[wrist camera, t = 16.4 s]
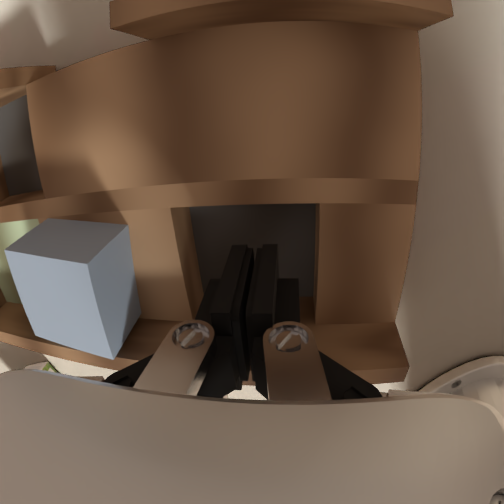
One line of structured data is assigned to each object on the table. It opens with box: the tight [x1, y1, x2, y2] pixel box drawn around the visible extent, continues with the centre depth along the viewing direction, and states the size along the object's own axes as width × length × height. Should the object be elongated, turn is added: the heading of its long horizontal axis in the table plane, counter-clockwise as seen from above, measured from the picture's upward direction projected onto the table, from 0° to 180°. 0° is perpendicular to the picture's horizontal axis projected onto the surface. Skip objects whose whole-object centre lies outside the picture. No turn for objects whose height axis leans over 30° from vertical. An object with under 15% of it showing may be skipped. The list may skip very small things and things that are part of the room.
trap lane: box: [0, 0, 453, 386], centre depth 13 cm, size 26×15×6 cm, turn 94°
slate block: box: [4, 218, 141, 360], centre depth 13 cm, size 5×5×4 cm
